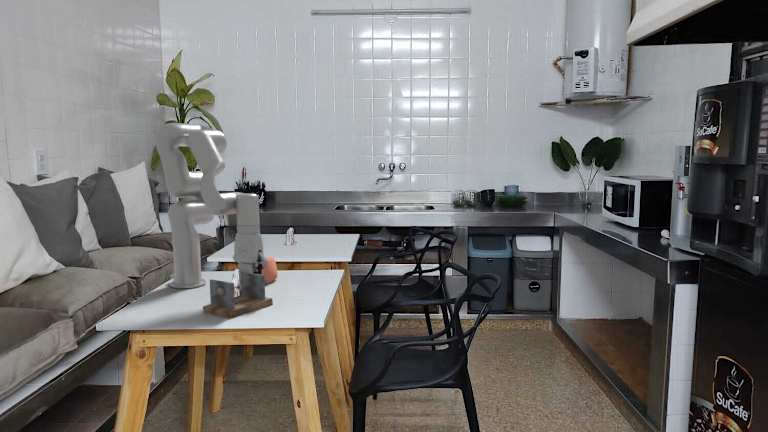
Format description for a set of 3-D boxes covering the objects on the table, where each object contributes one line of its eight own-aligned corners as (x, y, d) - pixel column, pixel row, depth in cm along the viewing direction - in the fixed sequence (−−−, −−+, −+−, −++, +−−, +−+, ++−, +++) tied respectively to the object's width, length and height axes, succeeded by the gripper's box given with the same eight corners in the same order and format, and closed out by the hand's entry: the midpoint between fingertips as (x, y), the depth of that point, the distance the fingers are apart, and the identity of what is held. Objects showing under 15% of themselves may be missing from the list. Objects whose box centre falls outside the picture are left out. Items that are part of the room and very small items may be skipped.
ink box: (252, 298, 194) (251, 264, 193) (239, 298, 195) (237, 264, 194) (262, 292, 202) (261, 259, 201) (249, 292, 203) (248, 259, 202)
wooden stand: (203, 312, 178) (201, 280, 177) (246, 299, 193) (245, 270, 192) (230, 318, 171) (228, 285, 170) (272, 304, 186) (271, 274, 185)
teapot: (282, 277, 226) (281, 251, 225) (264, 288, 209) (263, 260, 207) (255, 276, 228) (254, 251, 227) (235, 287, 211) (234, 259, 210)
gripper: (222, 229, 198) (224, 280, 200) (258, 232, 188) (260, 286, 190) (239, 226, 204) (241, 276, 206) (274, 230, 194) (276, 281, 197)
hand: (250, 280), depth 198 cm, fingers closed on ink box, 6 cm apart
